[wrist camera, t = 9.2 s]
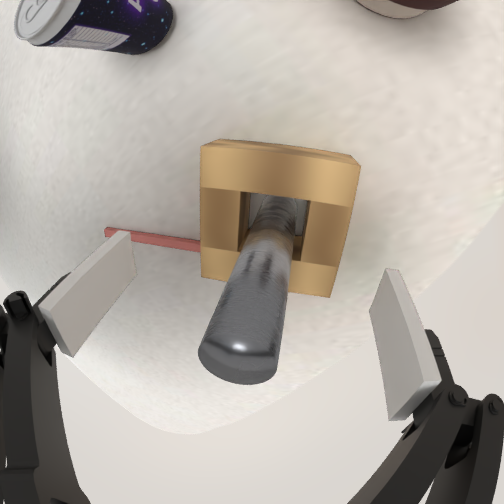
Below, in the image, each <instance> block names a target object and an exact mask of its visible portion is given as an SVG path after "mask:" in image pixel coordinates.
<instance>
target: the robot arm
mask: <svg viewBox="0 0 504 504" xmlns="http://www.w3.org/2000/svg"><path fill="white" fill-rule="evenodd" d="M136 275H137V272H136V266H135V260H134V254H133V248H132V242H131V235H130V232H127V231H120V230H119V231H117V232H116V233H115V234H114V235H113V236H111V237H110V238H109V239H108V240H107V241H106V242H104V243H103V244H102V245H101V246H100V247H99V248H98V249H96V250H95V251H94V252H93V253H92V254H91V255H90V256H89V257H87V258H86V259H85V260H84V261H83V262H82V263H81V264H80V265H79V266H78V267H77V268H76V269H74V270H73V271H72V272H70V273H68V274H66V275H65V276H63V277H61V278H60V279H59V280H58V281H57V282H56V283H55V285H53V286H52V287H51V288H50V290H48V291H47V292H46V293H45V294H44V295H43V296H42V297H41V298H40V299H39V300H38V301H37V302H36V303H35V304H34V306H33V307H32V305H31V303H30V301H29V299H28V296H27V294H26V293H25V292H24V291H16V292H13V293H11V294H10V295H9V296H8V297H7V298H6V299H5V300H4V302H3V305H4V307H5V309H6V311H7V313H5V311H4V309H3V307H2V306H1V305H0V349H1V352H0V504H3V501H4V502H5V504H91V503H90V501H89V500H88V498H87V496H86V495H85V494H84V493H83V491H82V490H81V488H80V487H79V484H78V481H77V478H76V475H75V471H74V468H73V464H72V460H71V457H70V452H69V448H68V445H67V439H66V434H65V429H64V424H63V418H62V412H61V405H60V399H59V390H58V380H57V368H56V353H55V350H54V348H53V347H54V346H55V345H56V343H57V345H58V347H59V348H60V350H61V352H62V353H64V354H67V355H69V356H71V357H74V356H75V354H76V353H77V352H78V350H79V349H80V347H81V346H82V345H83V343H84V342H85V340H86V339H87V338H88V336H89V335H90V334H91V332H92V331H93V330H94V328H95V327H96V326H97V324H98V323H99V322H100V320H101V319H102V318H103V316H104V315H105V314H106V313H107V311H108V310H109V309H110V307H111V306H112V305H113V304H114V302H115V301H116V300H117V299H118V297H119V296H120V295H121V294H122V292H123V291H124V290H125V289H126V287H127V286H128V285H129V284H130V282H131V281H132V280H133V279H134V278H135V276H136ZM369 313H370V317H371V321H372V326H373V331H374V335H375V339H376V345H377V350H378V355H379V360H380V366H381V371H382V377H383V383H384V389H385V396H386V403H387V411H388V419H389V421H397V420H406V419H407V417H409V416H410V414H412V413H413V418H414V421H413V422H412V423H411V424H409V425H408V426H407V427H406V428H405V429H404V430H403V431H402V433H404V432H405V433H404V434H403V435H402V437H401V438H400V440H399V442H398V443H397V444H396V446H395V447H394V448H393V450H392V451H391V452H390V454H389V455H388V457H387V458H386V459H385V460H384V462H383V463H382V464H381V466H380V467H379V468H378V469H377V471H376V472H375V473H374V474H373V475H372V477H371V478H370V479H369V480H368V481H367V483H366V484H365V485H364V486H363V487H362V488H361V489H360V490H359V492H358V493H357V494H356V495H355V496H354V497H353V498H352V499H351V500H350V501H349V502H348V503H347V504H418V503H419V502H420V501H421V499H422V497H423V496H424V494H425V493H426V491H427V490H428V488H429V486H430V485H431V483H432V482H433V480H434V482H433V484H432V487H431V490H430V493H429V495H428V498H427V500H426V503H425V504H492V501H493V497H494V493H495V489H496V484H497V479H498V474H499V468H500V462H501V456H502V447H503V438H504V403H503V401H502V399H501V398H500V397H499V396H497V395H496V394H489V395H487V396H486V397H485V398H484V399H483V400H482V401H480V400H476V399H472V398H469V397H468V394H467V393H466V391H465V390H464V389H463V388H462V387H461V386H459V385H456V384H455V383H454V381H453V377H452V374H451V371H450V369H449V365H448V363H447V360H446V357H444V356H445V354H444V352H443V349H442V347H441V344H440V341H439V339H438V337H437V336H436V335H435V334H434V332H433V331H432V330H427V329H424V328H423V325H422V323H421V320H420V317H419V315H418V312H417V310H416V307H415V305H414V303H413V300H412V298H411V296H410V293H409V291H408V289H407V287H406V284H405V282H404V280H403V278H402V276H401V274H400V272H399V270H393V269H387V268H385V271H384V274H383V277H382V279H381V282H380V285H379V287H378V290H377V293H376V295H375V298H374V300H373V303H372V305H371V308H370V310H369ZM6 458H7V467H6V468H5V466H6V465H5V464H6ZM434 478H435V479H434Z"/></svg>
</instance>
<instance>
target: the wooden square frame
mask: <svg viewBox="0 0 504 504" xmlns="http://www.w3.org/2000/svg"><path fill="white" fill-rule="evenodd" d="M360 169H361V166H360V165H359V164H358V163H357V161H356V160H355V159H354V158H353V157H352V156H351V155H345V154H340V153H335V152H329V151H323V150H317V149H310V148H303V147H296V146H289V145H281V144H272V143H262V142H252V141H240V140H226V139H218V140H215V141H213V142H210V143H208V144H205V145H203V146H201V153H200V248H201V277H204V278H209V279H215V280H221V281H226V282H228V279H229V277H230V275H231V273H232V270H233V268H234V266H235V263H236V261H237V259H238V257H239V254H240V252H241V250H242V248H243V245H244V243H245V241H246V239H247V236H248V234H249V232H250V230H251V229H248V221H249V207H250V193H251V192H252V193H260V194H268V195H275V196H283V197H290V198H297V199H303V200H308V201H307V207H306V214H305V220H304V226H303V232H302V237H301V236H295V235H294V244H293V253H292V262H291V270H290V279H289V287H288V292H294V293H300V294H307V295H314V296H321V297H328V298H330V295H331V292H332V289H333V285H334V282H335V278H336V274H337V271H338V267H339V263H340V259H341V256H342V252H343V248H344V244H345V240H346V236H347V231H348V227H349V223H350V218H351V214H352V209H353V205H354V200H355V195H356V190H357V185H358V180H359V174H360Z"/></svg>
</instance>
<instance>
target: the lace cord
mask: <svg viewBox="0 0 504 504" xmlns="http://www.w3.org/2000/svg"><path fill="white" fill-rule="evenodd" d="M119 230H120V231H127V232H130V235H131V241H134V242H140V243H146V244H152V245H158V246H164V247H170V248H176V249H183V250H189V251H195V252H201V248H200V241H197V240H190V239H183V238H177V237H170V236H163V235H156V234H150V233H143V232H136V231H129V230H123V229H116V228H109V227H107V228H106V229H104V232H105V237H111V236H113V235H114V234H115V233H116V232H117V231H119Z"/></svg>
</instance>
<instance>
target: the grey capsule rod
mask: <svg viewBox="0 0 504 504" xmlns="http://www.w3.org/2000/svg"><path fill="white" fill-rule="evenodd" d="M296 215H297V205H296V202H295V200H294V199H293V198H290V197H283V196H275V195H268V196H266V198H265V199H264V201H263V203H262V205H261V207H260V209H259V212H258V214H257V216H256V218H255V221H254V223H253V225H252V227H251V230H250V232H249V234H248V236H247V239H246V241H245V243H244V245H243V248H242V250H241V252H240V254H239V257H238V259H237V261H236V263H235V266H234V268H233V270H232V273H231V275H230V277H229V279H228V282H227V284H226V286H225V289H224V291H223V293H222V295H221V298H220V300H219V302H218V305H217V307H216V309H215V311H214V314H213V316H212V318H211V321H210V323H209V325H208V328H207V330H206V332H205V335H204V337H203V339H202V342H201V344H200V346H199V349H198V356H199V359H200V361H201V363H202V364H203V366H204V367H205V368H206V369H207V370H208V371H209V372H211V373H212V374H213V375H215V376H217V377H219V378H221V379H223V380H225V381H228V382H231V383H236V384H243V385H253V384H259V383H263V382H265V381H267V380H269V379H270V378H272V377H273V376H274V374H275V373H276V370H277V365H278V359H279V352H280V345H281V338H282V332H283V324H284V317H285V310H286V302H287V295H288V287H289V279H290V270H291V262H292V253H293V244H294V234H295V225H296Z"/></svg>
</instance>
